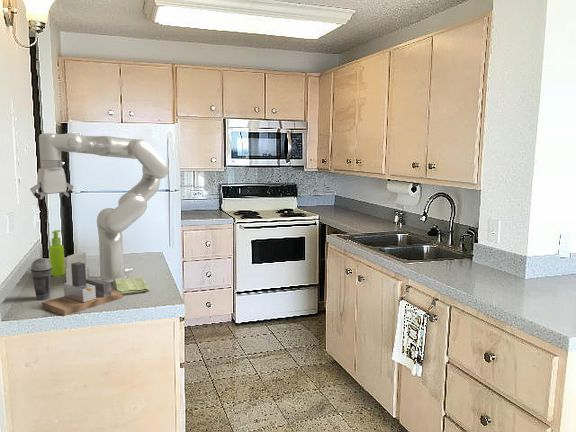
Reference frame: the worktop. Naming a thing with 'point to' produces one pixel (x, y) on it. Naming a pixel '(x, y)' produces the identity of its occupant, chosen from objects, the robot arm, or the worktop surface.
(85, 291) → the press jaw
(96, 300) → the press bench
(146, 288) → the washcloth
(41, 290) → the beverage cup
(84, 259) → the base with upright slab
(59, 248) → the soap dispenser
